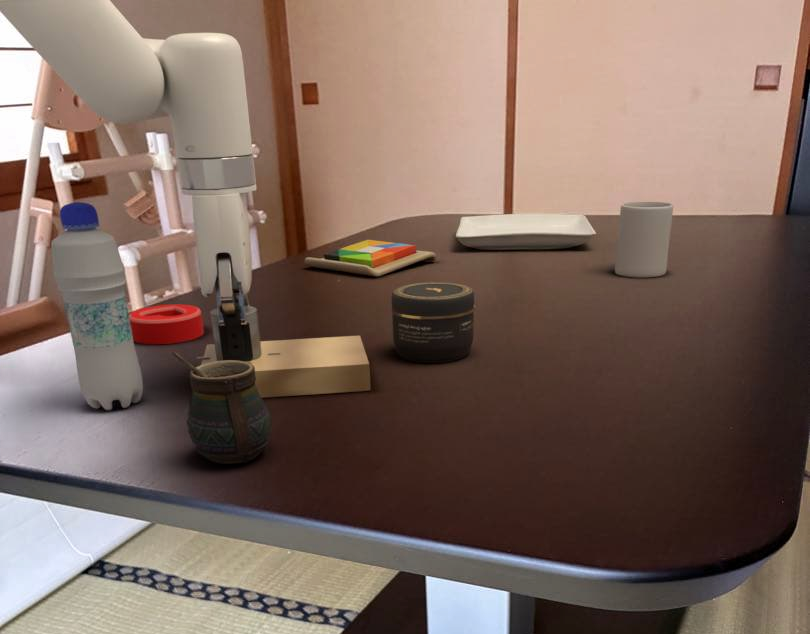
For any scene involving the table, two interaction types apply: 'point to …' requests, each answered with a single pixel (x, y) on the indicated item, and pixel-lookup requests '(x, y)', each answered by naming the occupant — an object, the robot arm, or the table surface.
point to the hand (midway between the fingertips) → (239, 351)
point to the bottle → (96, 308)
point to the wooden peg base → (308, 366)
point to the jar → (433, 321)
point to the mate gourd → (226, 411)
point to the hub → (254, 330)
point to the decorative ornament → (166, 324)
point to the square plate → (524, 231)
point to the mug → (643, 239)
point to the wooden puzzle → (371, 258)
